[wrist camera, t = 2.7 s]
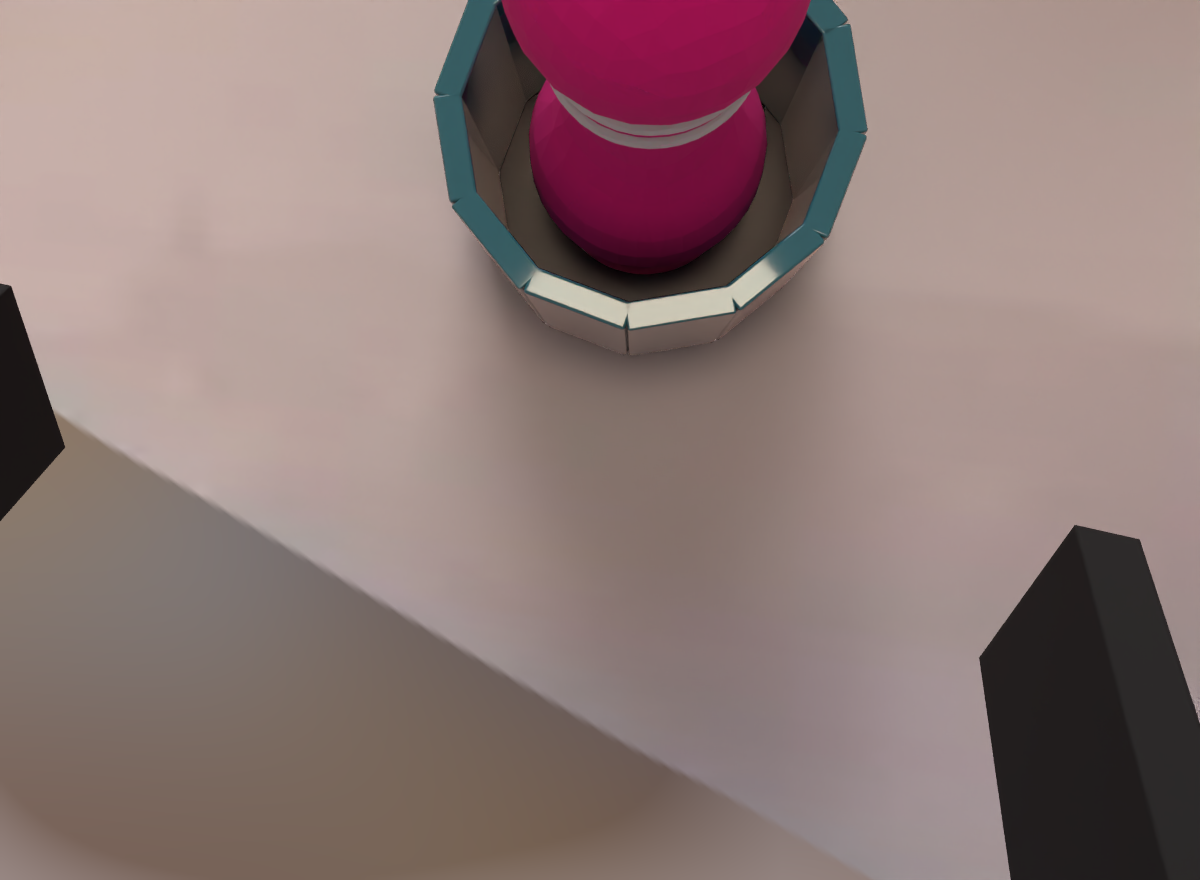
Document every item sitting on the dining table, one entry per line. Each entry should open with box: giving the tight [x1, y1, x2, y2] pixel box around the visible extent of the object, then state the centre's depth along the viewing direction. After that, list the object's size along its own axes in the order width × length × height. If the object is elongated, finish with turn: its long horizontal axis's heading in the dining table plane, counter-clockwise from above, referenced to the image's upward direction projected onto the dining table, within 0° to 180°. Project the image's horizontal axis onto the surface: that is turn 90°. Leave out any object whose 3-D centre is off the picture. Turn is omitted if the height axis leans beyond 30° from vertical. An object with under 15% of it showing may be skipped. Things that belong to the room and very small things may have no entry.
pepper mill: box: [502, 0, 811, 274], centre depth 24 cm, size 7×7×20 cm
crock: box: [433, 0, 868, 356], centre depth 30 cm, size 12×12×8 cm
